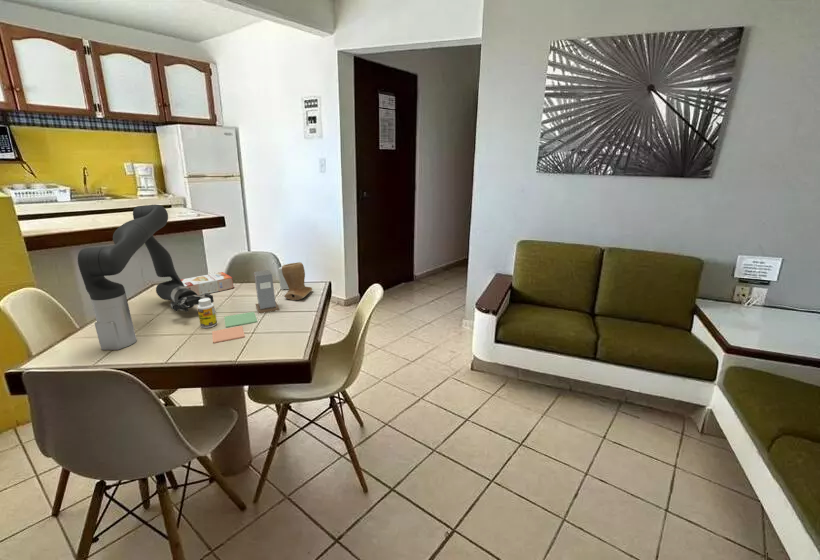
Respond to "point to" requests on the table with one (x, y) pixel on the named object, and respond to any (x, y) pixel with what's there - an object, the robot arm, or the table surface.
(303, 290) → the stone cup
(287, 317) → the table surface
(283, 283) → the small box
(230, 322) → the green pad
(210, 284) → the cracker box
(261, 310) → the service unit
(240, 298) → the table surface
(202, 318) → the supplement bottle
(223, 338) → the terracotta pad
